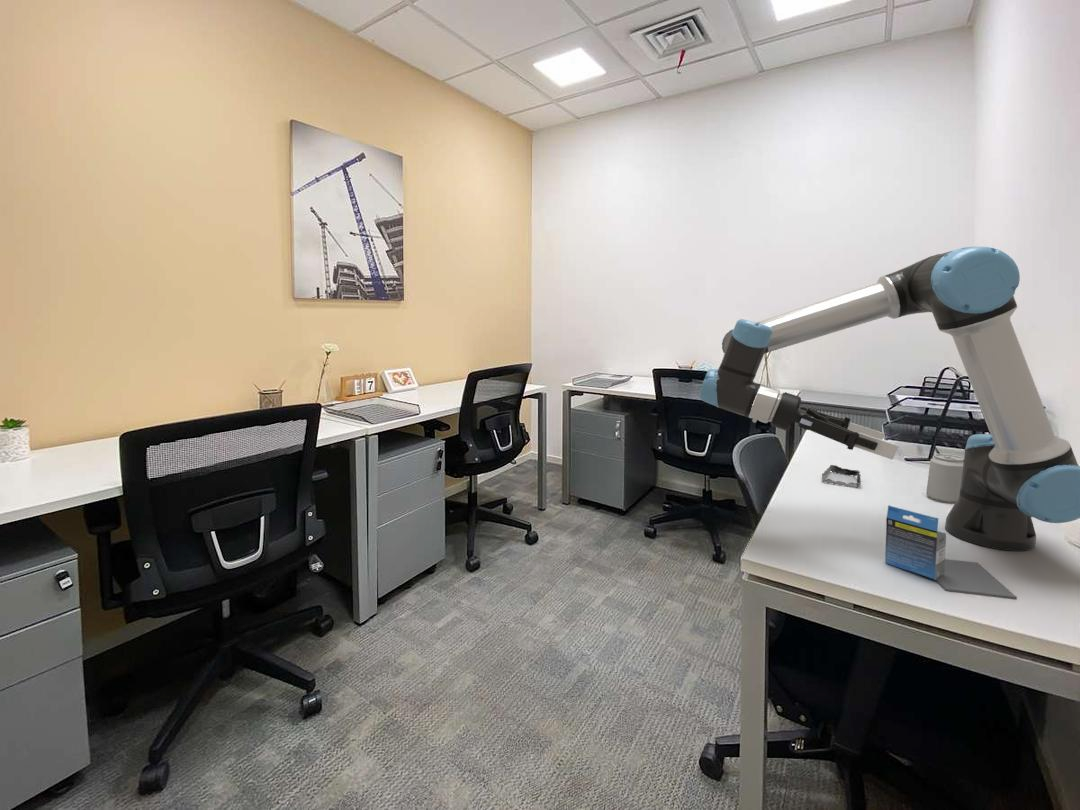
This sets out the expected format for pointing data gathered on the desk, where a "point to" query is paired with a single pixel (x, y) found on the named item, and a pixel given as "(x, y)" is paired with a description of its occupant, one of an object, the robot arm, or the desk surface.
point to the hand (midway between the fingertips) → (888, 445)
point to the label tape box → (914, 543)
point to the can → (945, 478)
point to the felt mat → (971, 580)
